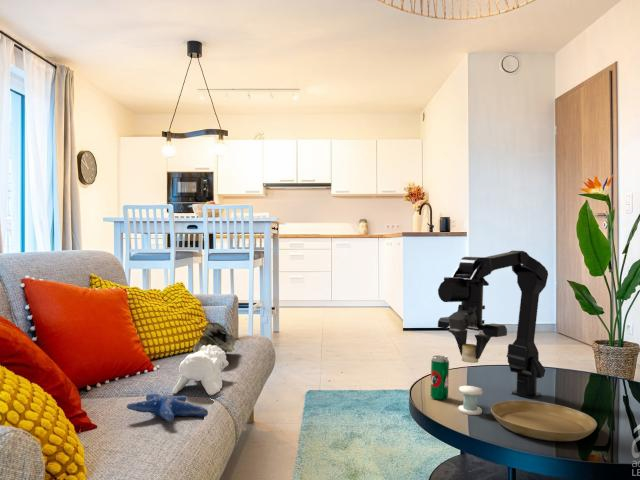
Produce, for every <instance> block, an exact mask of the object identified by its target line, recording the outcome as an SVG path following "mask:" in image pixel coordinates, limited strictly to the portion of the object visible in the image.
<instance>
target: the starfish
mask: <svg viewBox="0 0 640 480" xmlns="http://www.w3.org/2000/svg"><path fill="white" fill-rule="evenodd" d="M186 401H187V396H186V395H162V394H160V393H149V394H147V395H146V396H145V400H142V401H138V402H133V403H128V404H127V405H126V409H127V410H131V411H134V412H136V413H137V412H139V413H144V414H145V413H150V414H154V415H156V416H159V417H161V418H162V419H164V420H166V421H167V422H171V421H173V420H174V418H175V416H176V417H177V416H178V417H179V416H182V417H196V418H197V417H198V418H205V417H207V416H208V415H209V411H208V409H206V408H205V407H203V406H200V405H197V404H193V403H189V402H186Z"/></svg>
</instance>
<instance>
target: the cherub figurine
mask: <svg viewBox="0 0 640 480" xmlns="http://www.w3.org/2000/svg"><path fill="white" fill-rule="evenodd" d="M227 366H229V361H228V360H227V355H226V354H225V352H224V351H222V349H221V348H219V347H217V346H216V345H214V346H212V345H207V346H205V345H203V346H202V347H201V350H200V351H199V352H196V353H194V352H193V353H189V354H188V355H187V356H186V357H185V358H184V359H183V360H182V361H181V362H180V364H179V367H178V371H179V372H178V373H179V374H180V378H179V379H178V380H177V381H178V382H177V383H176V384H175V386H174V387H173V389H172V393H173V394H178V392H179V391H181V390H182V389H183V388H184V387H185V386H187V385H188V384H189V383H190V381H197V382H199V381H200V383H201V385H202V386H203V388H204V390H205V391H206V393H207V394H208V396H213V395H214V396H215V394H216V393H219V392H220V391H221V389H222V388H223V381H222V375H221V374H222V371H223V370H224V369H225V368H226V367H227Z"/></svg>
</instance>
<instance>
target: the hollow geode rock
mask: <svg viewBox="0 0 640 480" xmlns="http://www.w3.org/2000/svg"><path fill="white" fill-rule="evenodd" d="M205 325H206V326H205V328H204V329H201V330H200V331H201V332H200V333H201V334H203V335H202V336H200V337H199V340H198V341H197V342H196V343H195V344H194V345H193V349H192V351H193V354H194V353H196V352H199V351H200V350H201V347H202V346H203V345H205V346H207V345H212V346H214V345H216V346H217V347H219V348H221V349H222V351H224V352H225V355H226V354H227V352H229V353H231V352H233V351H235V345H236V344H235V343H236V342H237V338H236V337H234V336H233V335H232V334H229V333H228V332H227V330H226V328H225V327H224V326H222V325H221V324H219V322H218V323H217V322H207V323H206V324H205Z"/></svg>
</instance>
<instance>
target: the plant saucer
mask: <svg viewBox="0 0 640 480" xmlns="http://www.w3.org/2000/svg"><path fill="white" fill-rule="evenodd" d="M490 411H491V413H492V416H493V417H494V418H495V419H496V421H497V422H498V423H499V424H500V425H501V426H503V427H504V428H506V429H507V430H509V431H511V432H513V433H516V434H518V435H521V436H524V437H528V438H532V439H536V440H543V441H548V442H549V441H551V442H573V441H574V442H575V441H579V440H581V439H584V438H586V437H589V436H590V435H591V434H592V433H593V432H594V431H595V430H596V429H597V426H598V423H597V420H595V419H594V418H593V417H592V416H590V415H589V414H587V413H585V412H582V411H580V410H577V409H574V408H571V407H568V406H564V405H559V404H554V403H550V402H549V403H548V402H543V401H536V400H535V401H534V400H504V401H499V402H496V403H494V404H492V405H491V407H490Z"/></svg>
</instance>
